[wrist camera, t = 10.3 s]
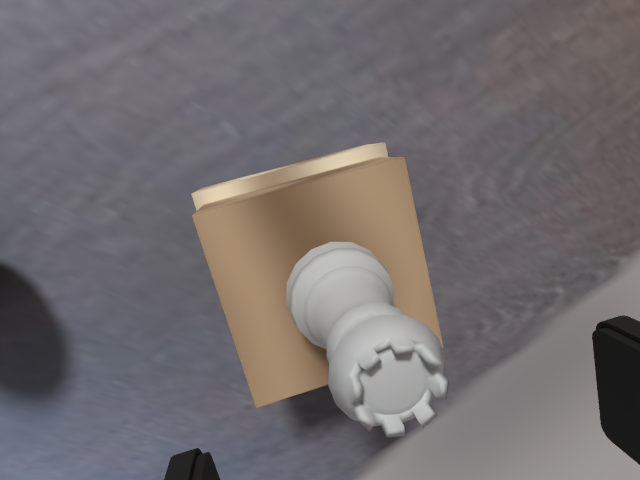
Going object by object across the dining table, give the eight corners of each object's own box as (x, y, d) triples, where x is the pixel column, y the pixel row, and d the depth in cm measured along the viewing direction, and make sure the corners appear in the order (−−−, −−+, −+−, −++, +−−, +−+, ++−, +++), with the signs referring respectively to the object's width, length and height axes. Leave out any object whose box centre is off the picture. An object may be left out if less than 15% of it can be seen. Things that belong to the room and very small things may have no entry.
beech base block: (365, 144, 25) (385, 142, 21) (398, 295, 27) (422, 318, 23) (201, 187, 24) (191, 193, 20) (250, 340, 26) (249, 372, 22)
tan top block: (377, 157, 21) (404, 157, 17) (411, 315, 23) (443, 347, 19) (204, 204, 20) (191, 215, 16) (256, 364, 22) (256, 407, 18)
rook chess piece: (354, 218, 17) (437, 269, 10) (402, 302, 18) (511, 408, 11) (264, 274, 17) (273, 372, 9) (318, 355, 18) (366, 501, 11)
